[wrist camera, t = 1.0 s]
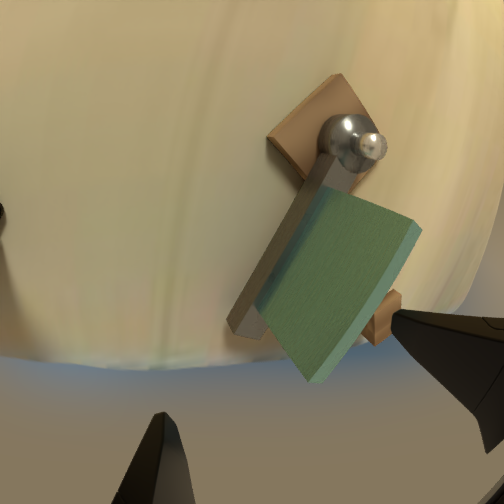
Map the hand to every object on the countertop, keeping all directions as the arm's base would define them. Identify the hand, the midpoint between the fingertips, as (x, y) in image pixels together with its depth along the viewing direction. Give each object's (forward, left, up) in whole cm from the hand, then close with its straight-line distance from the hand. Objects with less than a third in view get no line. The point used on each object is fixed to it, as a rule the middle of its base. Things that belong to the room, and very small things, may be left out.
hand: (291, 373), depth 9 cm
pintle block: (+2, +12, -14) cm, 18 cm away
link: (+4, +6, -12) cm, 14 cm away
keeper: (+18, +5, -14) cm, 23 cm away
